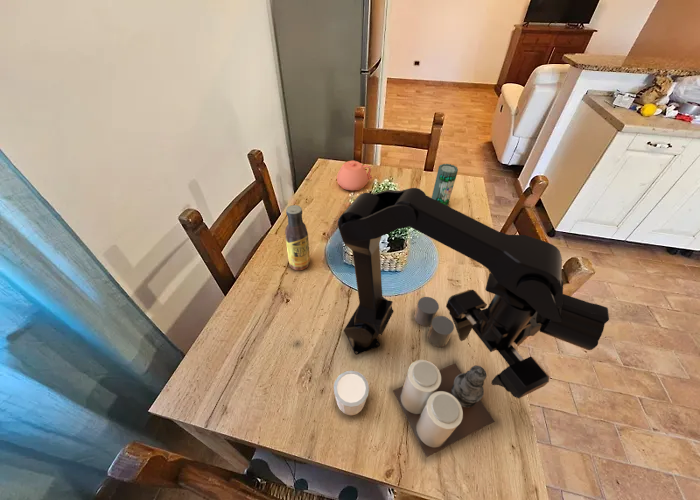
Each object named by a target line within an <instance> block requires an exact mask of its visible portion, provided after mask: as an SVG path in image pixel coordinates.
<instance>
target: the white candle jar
mask: <svg viewBox="0 0 700 500" xmlns="http://www.w3.org/2000/svg"><path fill="white" fill-rule="evenodd" d="M369 392H370V385H369V382H368V380H367V378H366V376H365V375H363V374H362V373H361V372H359V371H357V370H346V371H344V372H342V373H340V374H339V375H338V376H337V377H336V379H335V380H334V384H333V393H334V397H335V400H336V401H335V402H336V404H337V406H338V408H339V410H340V411H341V412H342V413H343V414H344V415H348V416H354V415H357V414H359V413H360V412H361V411H362V410H363V408H364V407H365V404H366V401H367V399H368V397H369Z"/></svg>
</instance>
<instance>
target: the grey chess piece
mask: <svg viewBox="0 0 700 500" xmlns="http://www.w3.org/2000/svg"><path fill="white" fill-rule="evenodd" d="M487 374H488V373H487V370H485V368H484V367H482V366H481V365H473V366H472V367H471V368H470V369H469V370H467V371H466V372H462V374H459V375H458V376H457V377H456V378H455V380H454V385H453V386H452V389H451V394H452V395H453V396H454V397H455V398H456V399H457V400H458V401H459V403H460V405H461V406H463V407H467V408H468V407H472V406H474V405H475V404H476V402H478V401H480V400H481V401H482V399H483V398H484V395H485V393H484V392H485V390H484V384H485V380H486V378H487V376H488V375H487Z"/></svg>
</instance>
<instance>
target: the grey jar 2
mask: <svg viewBox="0 0 700 500" xmlns="http://www.w3.org/2000/svg"><path fill="white" fill-rule="evenodd" d="M454 329H455V324H454V322H453V320H452V319H450V318H448V317H447V316H444V315H436V317H435V318H434V319H433V320H432V322H431V325H430V326H429V328H428V331H427V335H426V338H427V340H428V342H429V344H431V345H432V346H434V347H437V348H443V347H445V346H447V344H448V343H449V340H450V339H451V337H452V334H453V332H454V331H455V330H454Z"/></svg>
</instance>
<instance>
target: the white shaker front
mask: <svg viewBox="0 0 700 500" xmlns="http://www.w3.org/2000/svg"><path fill="white" fill-rule="evenodd" d="M462 418H463V411H462V407H461V405H460V403H459V401H458V400H457V399H456V398H455V397H454V396H453V395H451V394H450V393H447V392H444V391H438V392H435V393H433V394H432V395H431V396H430V397H429V398H428V400H427V402H426V404H425V406H424V409H423V411H422V413H421V415H420V417H419V419H418V421H417V424H416V430H417V434H418V436H419V438H420V439H421V441H422V442H423V443H424V444H426V445H428V446H430V447H440V446H442V445H443V444H444V443H445V442H446V440H447V439H448V438H449V437H450V435H451V434H452V433H453V432H454V430H455V429H456V428H457V427H458V425H459V424H460V423H461V421H462Z"/></svg>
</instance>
